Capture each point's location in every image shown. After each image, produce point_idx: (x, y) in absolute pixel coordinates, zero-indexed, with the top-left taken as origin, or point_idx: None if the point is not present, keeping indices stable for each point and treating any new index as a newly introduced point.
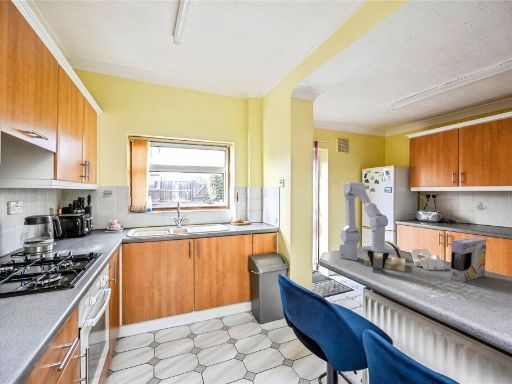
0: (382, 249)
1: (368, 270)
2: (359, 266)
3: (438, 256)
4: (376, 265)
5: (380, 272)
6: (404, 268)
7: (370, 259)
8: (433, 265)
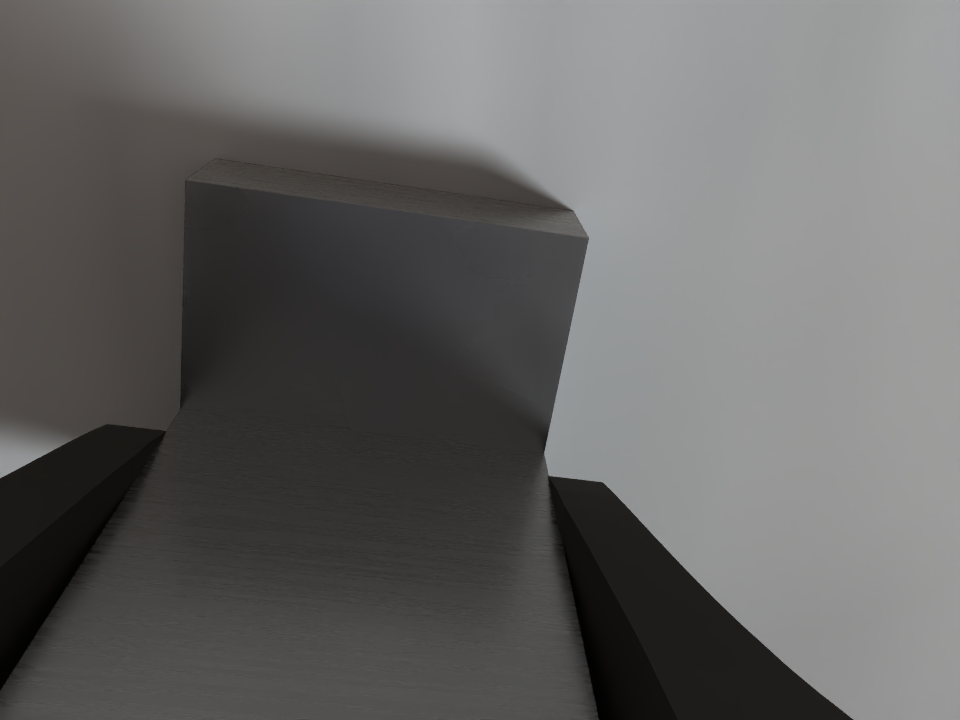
0: None
1: (705, 352)
2: (956, 651)
3: None
4: (407, 522)
5: (252, 171)
6: None
7: (810, 704)
8: None
